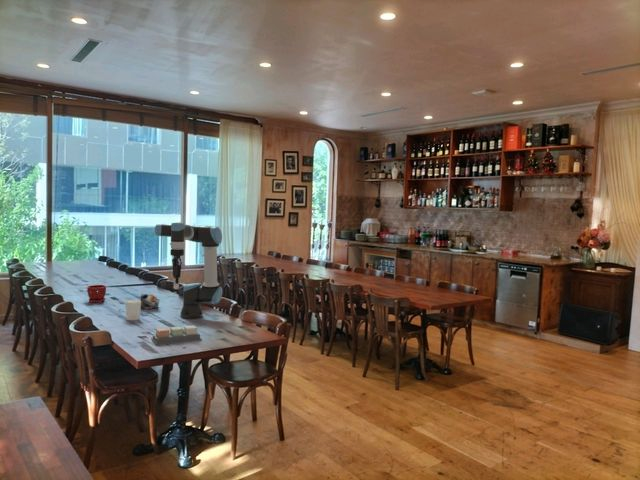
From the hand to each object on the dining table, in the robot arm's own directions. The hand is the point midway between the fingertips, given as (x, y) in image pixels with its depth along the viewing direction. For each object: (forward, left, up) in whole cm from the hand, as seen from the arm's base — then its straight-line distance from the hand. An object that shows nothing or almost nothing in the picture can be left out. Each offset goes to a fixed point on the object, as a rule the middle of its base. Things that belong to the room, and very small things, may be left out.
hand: (176, 288), depth 286 cm
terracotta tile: (+4, -8, -27) cm, 28 cm away
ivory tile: (+4, +8, -27) cm, 28 cm away
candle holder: (-55, -14, -30) cm, 64 cm away
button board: (+4, 0, -29) cm, 30 cm away
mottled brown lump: (-85, +3, -30) cm, 90 cm away
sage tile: (+4, 0, -27) cm, 27 cm away
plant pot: (-121, -30, -30) cm, 128 cm away
